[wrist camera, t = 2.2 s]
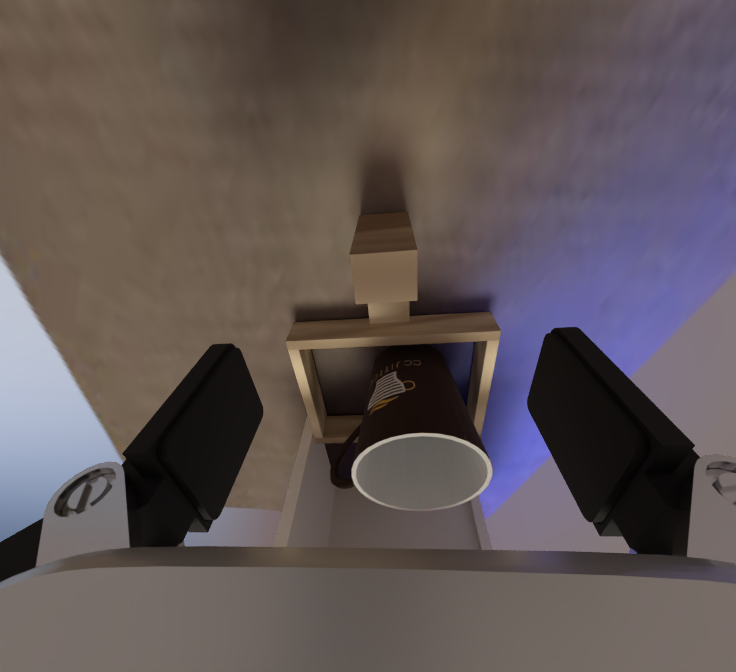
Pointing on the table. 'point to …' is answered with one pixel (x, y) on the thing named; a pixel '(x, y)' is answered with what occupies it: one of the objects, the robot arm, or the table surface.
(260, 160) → the table surface
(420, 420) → the coffee mug
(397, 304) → the wooden drawer
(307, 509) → the cream open box
